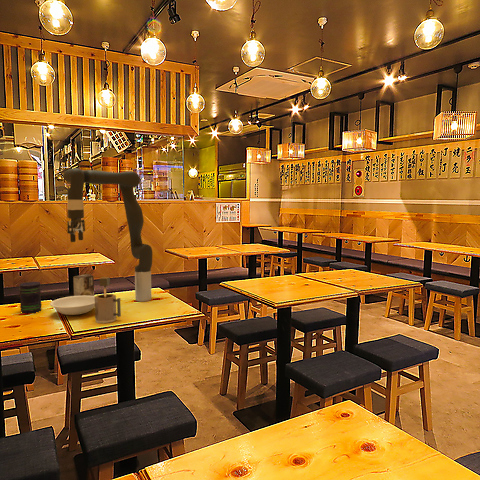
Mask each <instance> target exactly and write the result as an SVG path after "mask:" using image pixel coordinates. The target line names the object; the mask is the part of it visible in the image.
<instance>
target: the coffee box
mask: <svg viewBox="0 0 480 480" xmlns="http://www.w3.org/2000/svg"><path fill="white" fill-rule="evenodd" d="M72 279H73V281H72V282H73V296H82V295H87V296H95V280H94V275H93V274H90V273H84V274H81V275H75V276H73V277H72Z"/></svg>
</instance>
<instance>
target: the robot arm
mask: <svg viewBox="0 0 480 480" xmlns="http://www.w3.org/2000/svg"><path fill="white" fill-rule="evenodd" d="M63 177H64V179H65V181H67V183H69V184H70V187H69V188H68V189H67V191H66V192H67V195H66V197H67V203H66V204H67V206H66V208H67V218H68V219H70V220H68V221H67V222H66V224H67V225H66V226H67V227H66V228H67V234H69V236H70V242H71V243H75V242H76V239H77V238H76V232H77V235H78V236H77V237H78V241H83V240H84V232H86V224H85V223H86V221H85V219H84V218H85V206H84V200H83V199H84V197H83V194H84V193H83V190H84V185H85V184H90V185H118V186H119V189H120V192H121V195H122V201H123V207H124V211H125V216H126V223H127V226H128V232H129V239H130V251H131V255H132V257H133V258H134V259H137V260H138V264H137V265H135V266H134V292H135V295H134V296H135V298H134V301H136V302H148V301H151V300H152V266H153V248H152V245H149V244H148V243H143V240H142V230H143V227H144V222H145V220H144V216H143V215H144V214H143V210H142V207H141V205H140V203H139V202H138V200H137V199H136V196H135V193H134V189H135V188H136V187H137V186H139V185H140V183H141V182H140V181H141V178H140V175H139V174H138V173H137V172H135V171H133V170H131V171H129V170H128V171H121V172H112V171H103V170H96V169H95V170H94V169H86V170H83V169H81V168H78V167H77V168H76V167H75V168H69V169H67V170H65V172H64V173H63Z"/></svg>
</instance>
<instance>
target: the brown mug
mask: <svg viewBox="0 0 480 480" xmlns="http://www.w3.org/2000/svg"><path fill="white" fill-rule="evenodd" d="M95 296H96V297H95V307H94V314H95V315H94V318H95V323H97V324H109V323H114V322H116V321H117V318H120V317H121V316H122V314H121V313H122V310H121V306H122V305H121V297H118V298H117V296H116V295H115V294H112V293H106V298H104V293H103V294H98V295H95Z"/></svg>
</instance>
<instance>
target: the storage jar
mask: <svg viewBox="0 0 480 480" xmlns="http://www.w3.org/2000/svg"><path fill="white" fill-rule="evenodd" d="M41 288H42V287H41V282H40V281H26V282H21V283H19V296H20V307H19V308H20V313H21V312H22V313H34V314H37V313H36V312H38V313H40V312H39V311H41V310H42V299H41V293H42V292H41V291H42V290H41ZM41 312H42V311H41ZM22 313H21V314H22Z"/></svg>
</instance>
